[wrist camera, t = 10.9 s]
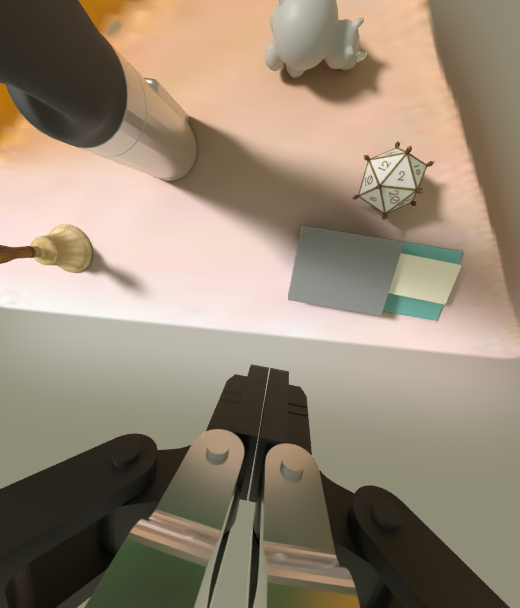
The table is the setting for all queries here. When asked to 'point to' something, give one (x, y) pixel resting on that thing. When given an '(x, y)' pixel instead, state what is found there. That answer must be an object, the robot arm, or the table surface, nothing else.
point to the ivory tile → (424, 278)
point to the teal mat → (416, 305)
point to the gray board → (343, 270)
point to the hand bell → (55, 249)
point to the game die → (392, 179)
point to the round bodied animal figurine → (312, 37)
